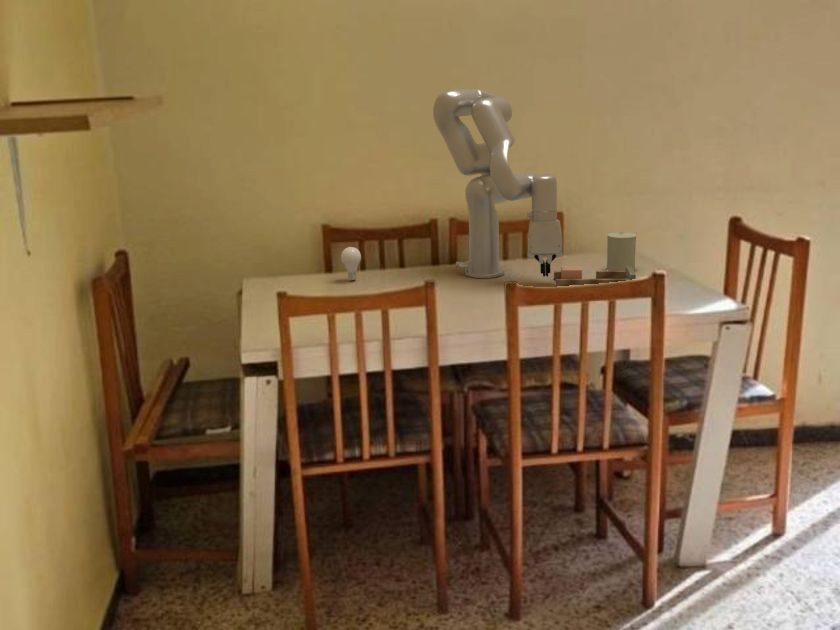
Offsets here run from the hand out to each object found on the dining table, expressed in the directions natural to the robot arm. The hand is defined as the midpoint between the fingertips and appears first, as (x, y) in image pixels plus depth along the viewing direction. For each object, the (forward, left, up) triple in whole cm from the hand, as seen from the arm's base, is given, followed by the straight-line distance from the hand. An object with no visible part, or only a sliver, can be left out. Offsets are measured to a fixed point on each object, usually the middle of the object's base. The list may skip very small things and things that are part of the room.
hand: (545, 275), depth 274 cm
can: (+25, +18, -3) cm, 31 cm away
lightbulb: (-61, +5, -3) cm, 61 cm away
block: (+8, 0, -3) cm, 8 cm away
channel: (+14, 0, -3) cm, 14 cm away
